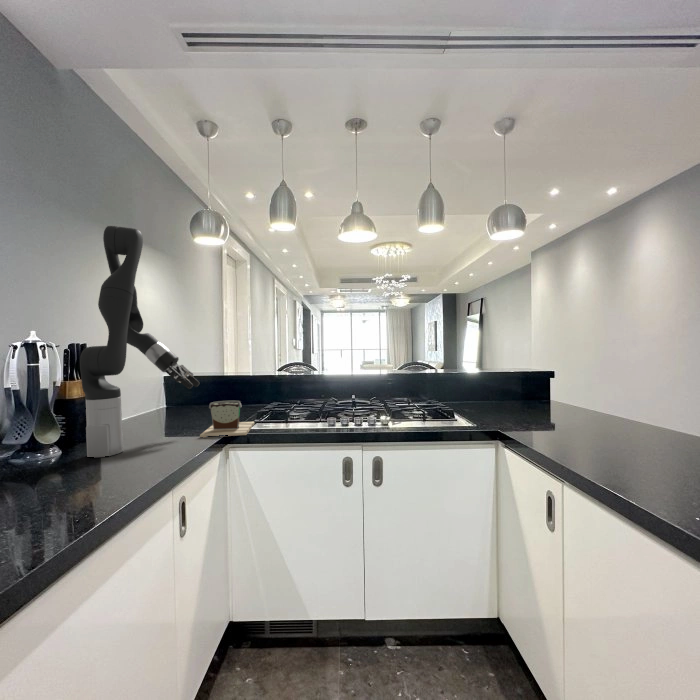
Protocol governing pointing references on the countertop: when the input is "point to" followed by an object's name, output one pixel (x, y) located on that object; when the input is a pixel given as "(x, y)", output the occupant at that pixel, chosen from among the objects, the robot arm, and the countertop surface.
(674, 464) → the countertop surface
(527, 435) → the countertop surface
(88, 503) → the countertop surface
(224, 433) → the birch board
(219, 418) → the food container
